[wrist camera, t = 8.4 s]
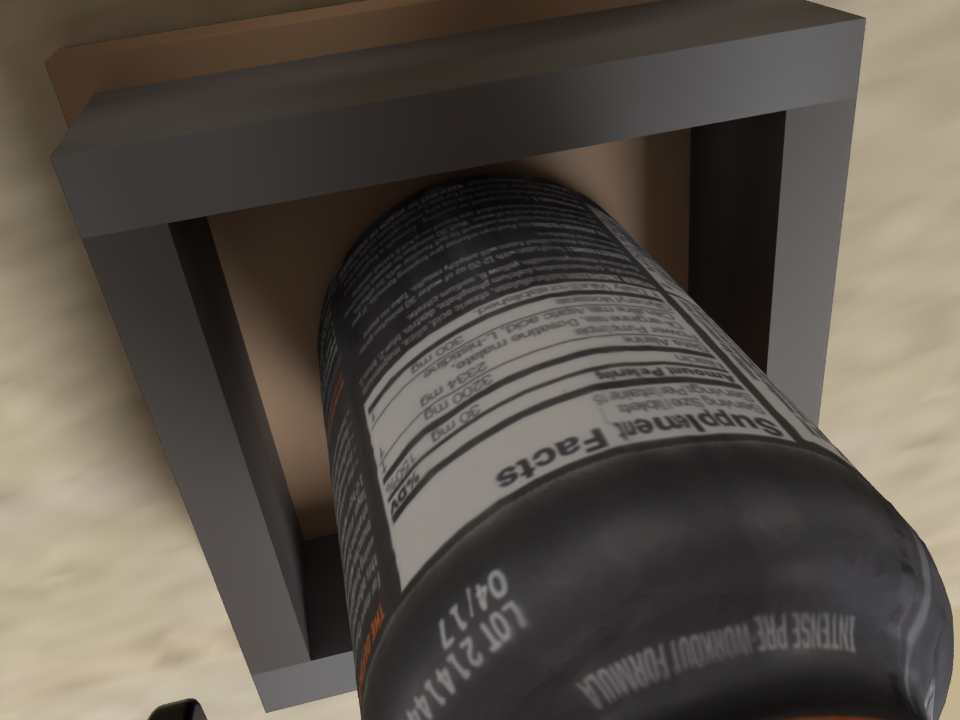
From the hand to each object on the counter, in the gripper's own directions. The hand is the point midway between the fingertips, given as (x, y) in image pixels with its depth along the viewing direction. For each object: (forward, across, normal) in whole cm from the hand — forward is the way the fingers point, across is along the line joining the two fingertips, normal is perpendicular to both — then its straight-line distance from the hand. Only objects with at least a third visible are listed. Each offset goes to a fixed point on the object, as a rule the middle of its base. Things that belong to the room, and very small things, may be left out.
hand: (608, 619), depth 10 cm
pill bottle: (+7, 0, 0) cm, 7 cm away
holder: (+8, 0, 0) cm, 8 cm away
